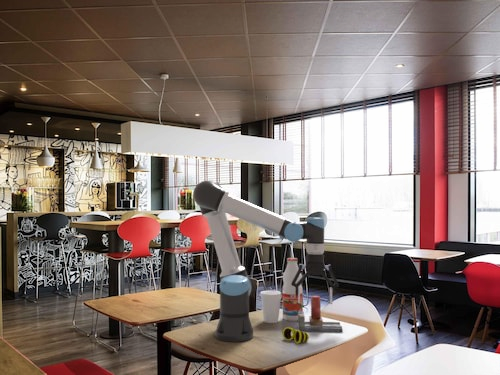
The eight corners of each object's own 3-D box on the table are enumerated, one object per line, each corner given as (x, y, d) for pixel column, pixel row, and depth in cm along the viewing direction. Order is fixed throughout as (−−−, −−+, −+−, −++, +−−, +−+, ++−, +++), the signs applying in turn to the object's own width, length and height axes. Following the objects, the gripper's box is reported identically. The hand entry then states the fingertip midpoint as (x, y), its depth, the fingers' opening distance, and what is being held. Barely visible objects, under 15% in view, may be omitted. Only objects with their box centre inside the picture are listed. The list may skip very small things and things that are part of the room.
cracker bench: (298, 331, 178) (298, 316, 178) (297, 325, 188) (297, 311, 188) (342, 332, 176) (342, 317, 177) (339, 325, 186) (339, 311, 187)
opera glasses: (308, 344, 163) (310, 331, 164) (299, 344, 160) (301, 331, 161) (290, 339, 170) (292, 326, 171) (281, 339, 167) (283, 325, 168)
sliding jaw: (310, 325, 179) (310, 298, 179) (309, 320, 187) (309, 294, 187) (322, 325, 178) (322, 298, 179) (320, 320, 186) (320, 295, 187)
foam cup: (265, 324, 189) (265, 294, 189) (257, 319, 197) (257, 291, 198) (284, 322, 192) (284, 293, 193) (276, 317, 201) (276, 289, 201)
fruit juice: (303, 316, 203) (302, 257, 204) (302, 321, 194) (302, 259, 195) (283, 316, 204) (282, 257, 206) (281, 321, 195) (281, 259, 196)
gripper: (286, 253, 181) (285, 304, 180) (345, 254, 179) (345, 305, 178) (286, 251, 189) (285, 300, 188) (343, 253, 187) (343, 302, 186)
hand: (314, 303), depth 183 cm, fingers open, 13 cm apart
